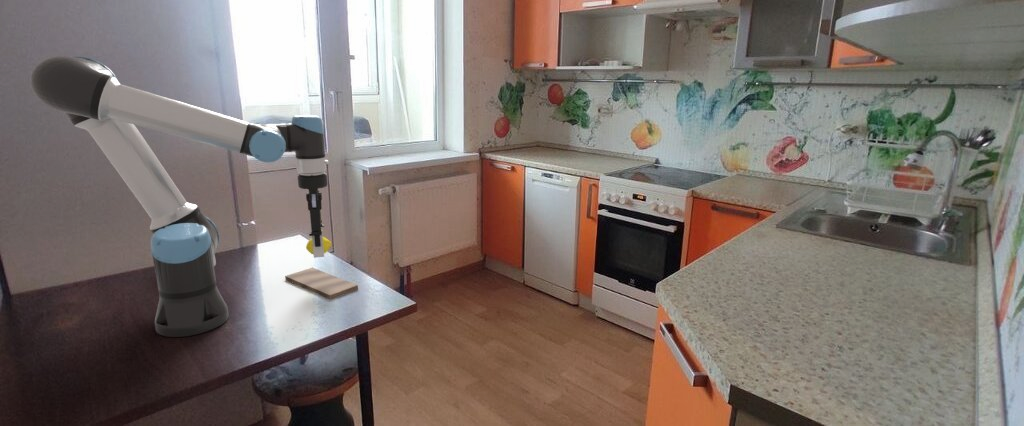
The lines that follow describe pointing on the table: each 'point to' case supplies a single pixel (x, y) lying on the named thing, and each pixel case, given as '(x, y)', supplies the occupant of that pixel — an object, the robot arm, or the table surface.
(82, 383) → the table surface
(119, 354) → the table surface
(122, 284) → the table surface
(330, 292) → the cutting board
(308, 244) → the lemon
